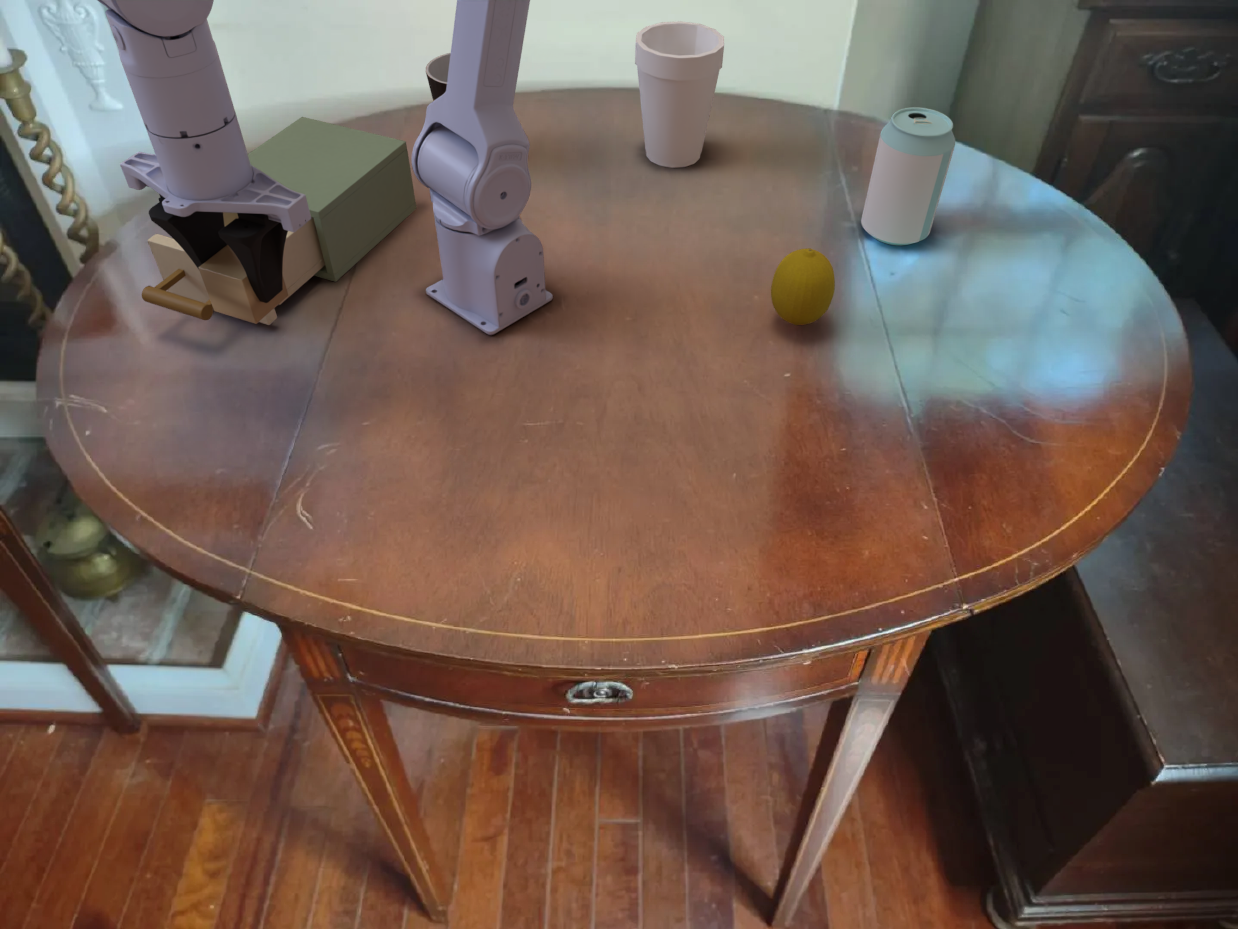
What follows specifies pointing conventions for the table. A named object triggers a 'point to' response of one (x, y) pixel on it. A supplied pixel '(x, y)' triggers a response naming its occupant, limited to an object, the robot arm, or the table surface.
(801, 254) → the lemon
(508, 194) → the robot arm
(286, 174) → the cabinet
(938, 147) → the can
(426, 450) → the table surface
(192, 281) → the drawer
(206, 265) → the block
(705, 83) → the foam cup
